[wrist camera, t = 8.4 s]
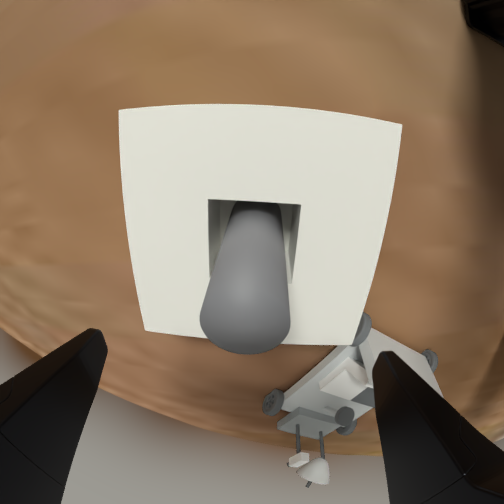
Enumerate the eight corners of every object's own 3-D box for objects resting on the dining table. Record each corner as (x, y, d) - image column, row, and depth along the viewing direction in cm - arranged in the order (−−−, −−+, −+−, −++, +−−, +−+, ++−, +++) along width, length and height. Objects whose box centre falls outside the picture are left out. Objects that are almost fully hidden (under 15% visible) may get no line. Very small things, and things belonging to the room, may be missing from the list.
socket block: (370, 119, 16) (402, 124, 12) (338, 301, 23) (351, 345, 18) (154, 108, 17) (118, 110, 12) (165, 290, 23) (145, 330, 19)
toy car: (331, 492, 24) (244, 481, 22) (325, 428, 33) (250, 406, 31) (466, 418, 17) (393, 397, 15) (432, 345, 26) (360, 303, 23)
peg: (283, 194, 18) (296, 290, 9) (279, 240, 20) (285, 356, 11) (231, 191, 18) (196, 284, 9) (231, 237, 20) (202, 350, 11)
